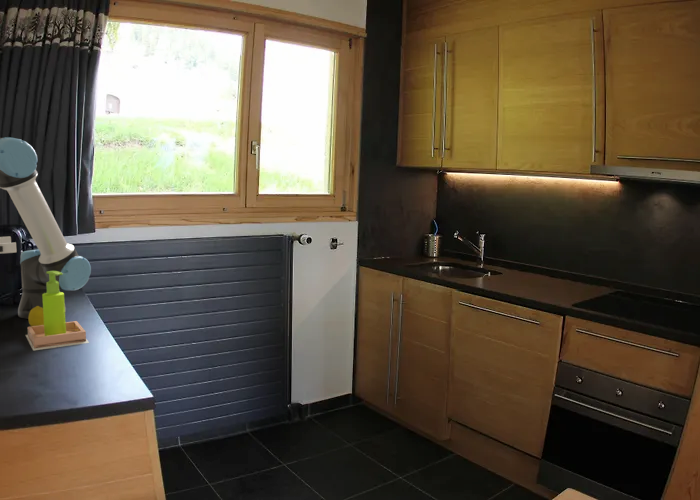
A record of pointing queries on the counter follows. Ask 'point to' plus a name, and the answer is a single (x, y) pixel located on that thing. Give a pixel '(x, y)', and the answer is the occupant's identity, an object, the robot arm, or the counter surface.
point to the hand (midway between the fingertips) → (13, 244)
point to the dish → (71, 336)
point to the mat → (55, 345)
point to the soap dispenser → (53, 307)
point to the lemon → (36, 316)
